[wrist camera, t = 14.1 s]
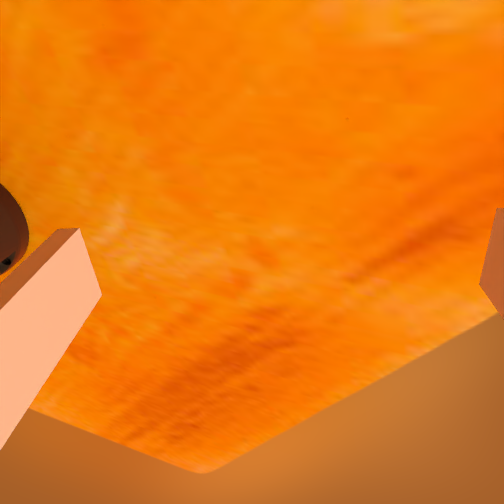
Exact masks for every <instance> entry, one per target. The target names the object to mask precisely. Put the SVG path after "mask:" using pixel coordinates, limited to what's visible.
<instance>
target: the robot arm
mask: <svg viewBox="0 0 504 504" xmlns="http://www.w3.org/2000/svg"><path fill="white" fill-rule="evenodd" d="M28 242H29V231H28V226H27V222H26V219H25V216H24V214H23V212H22V210H21V208H20V207H19V205H18V203H17V202H16V201H15V199H14V198H13V197H12V195H11V194H10V193H9V192H8V191H7V190H6V189H5V188H4V187H3V186H2V185H1V184H0V275H1V274H3V273H5V272H6V271H8V270H9V269H10V268H12V267H13V266H14V265H15V264H16V263H17V262H18V261H19V260H20V259H21V258H22V257H23V255H24V254H25V252H26V250H27V247H28ZM479 285H480V286H481V288H482V289H483V290H484V292H485V293H486V295H487V296H488V298H489V299H490V301H491V302H492V303H493V305H494V306H495V308H496V309H497V311H498V312H499V313H500V315H501V316H502V318H503V319H504V208H497V210H496V214H495V219H494V223H493V227H492V231H491V236H490V240H489V244H488V249H487V253H486V257H485V262H484V266H483V270H482V274H481V279H480V283H479ZM101 296H102V294H101V291H100V288H99V285H98V282H97V279H96V276H95V273H94V270H93V267H92V264H91V261H90V258H89V255H88V252H87V249H86V247H85V244H84V241H83V238H82V235H81V232H80V229H79V228H71V229H57V230H56V231H55V232H54V233H53V234H52V235H51V236H50V237H49V238H48V239H47V240H46V241H45V242H44V243H42V244H41V245H40V246H39V247H38V248H37V249H36V250H35V251H34V252H33V253H32V254H31V255H30V256H29V257H28V258H27V259H26V260H25V261H23V262H22V263H21V264H20V265H19V266H18V267H17V268H16V269H15V270H14V271H13V272H12V273H11V274H10V275H9V276H8V277H7V278H6V279H4V280H3V281H2V282H1V283H0V450H1V448H2V447H3V445H4V444H5V442H6V440H7V439H8V438H9V436H10V434H11V433H12V431H13V430H14V428H15V427H16V425H17V424H18V422H19V421H20V419H21V418H22V416H23V415H24V413H25V412H26V410H27V409H28V407H29V406H30V404H31V403H32V401H33V399H34V398H35V396H36V395H37V393H38V392H39V390H40V389H41V387H42V386H43V384H44V383H45V381H46V380H47V378H48V377H49V375H50V374H51V372H52V370H53V369H54V367H55V366H56V364H57V363H58V361H59V360H60V358H61V357H62V355H63V354H64V352H65V351H66V349H67V348H68V346H69V345H70V343H71V341H72V340H73V338H74V337H75V335H76V334H77V332H78V331H79V329H80V328H81V326H82V325H83V323H84V322H85V320H86V319H87V317H88V315H89V314H90V312H91V311H92V309H93V308H94V306H95V305H96V303H97V302H98V300H99V299H100V297H101Z"/></svg>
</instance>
